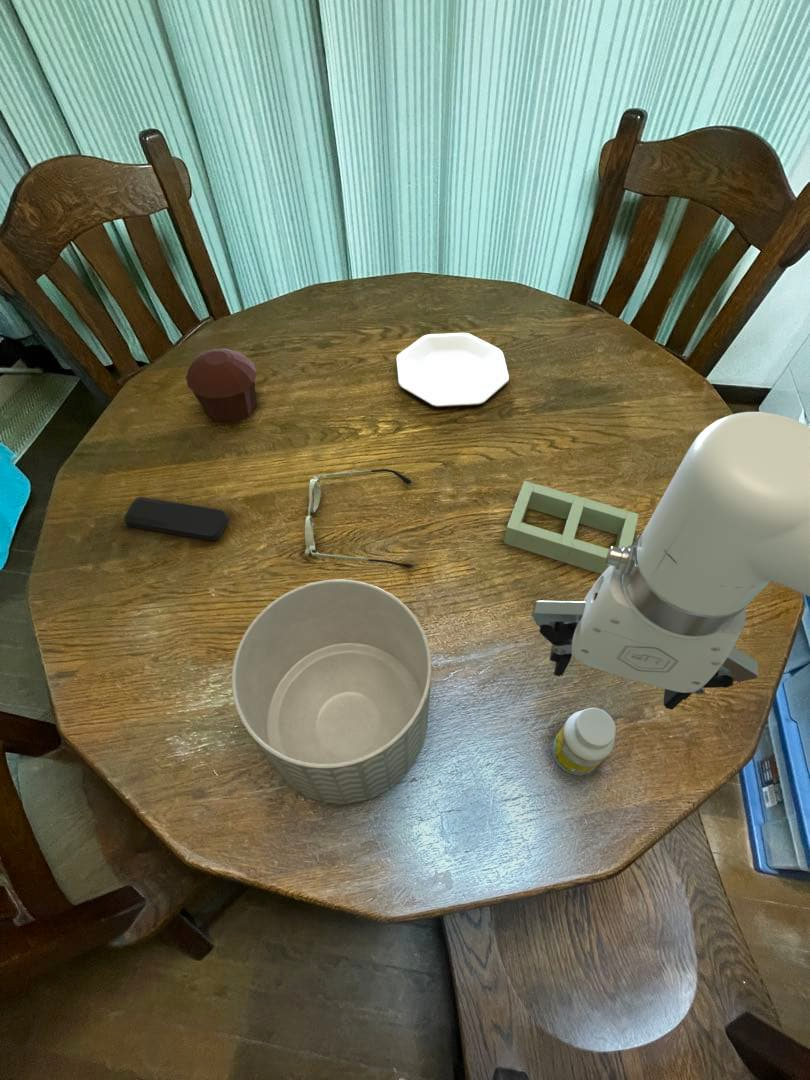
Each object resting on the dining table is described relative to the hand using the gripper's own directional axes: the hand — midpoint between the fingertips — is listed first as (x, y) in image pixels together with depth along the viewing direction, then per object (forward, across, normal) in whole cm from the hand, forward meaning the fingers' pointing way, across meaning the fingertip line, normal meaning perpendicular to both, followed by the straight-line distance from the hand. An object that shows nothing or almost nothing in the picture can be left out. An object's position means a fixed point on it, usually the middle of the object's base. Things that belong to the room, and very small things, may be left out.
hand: (613, 676), depth 53 cm
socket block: (+20, -5, +30) cm, 36 cm away
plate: (+20, -31, +59) cm, 70 cm away
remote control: (+20, -61, +14) cm, 66 cm away
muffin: (+20, -65, +40) cm, 79 cm away
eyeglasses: (+20, -34, +22) cm, 46 cm away
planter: (+20, -25, -6) cm, 33 cm away
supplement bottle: (+20, +1, -1) cm, 20 cm away
